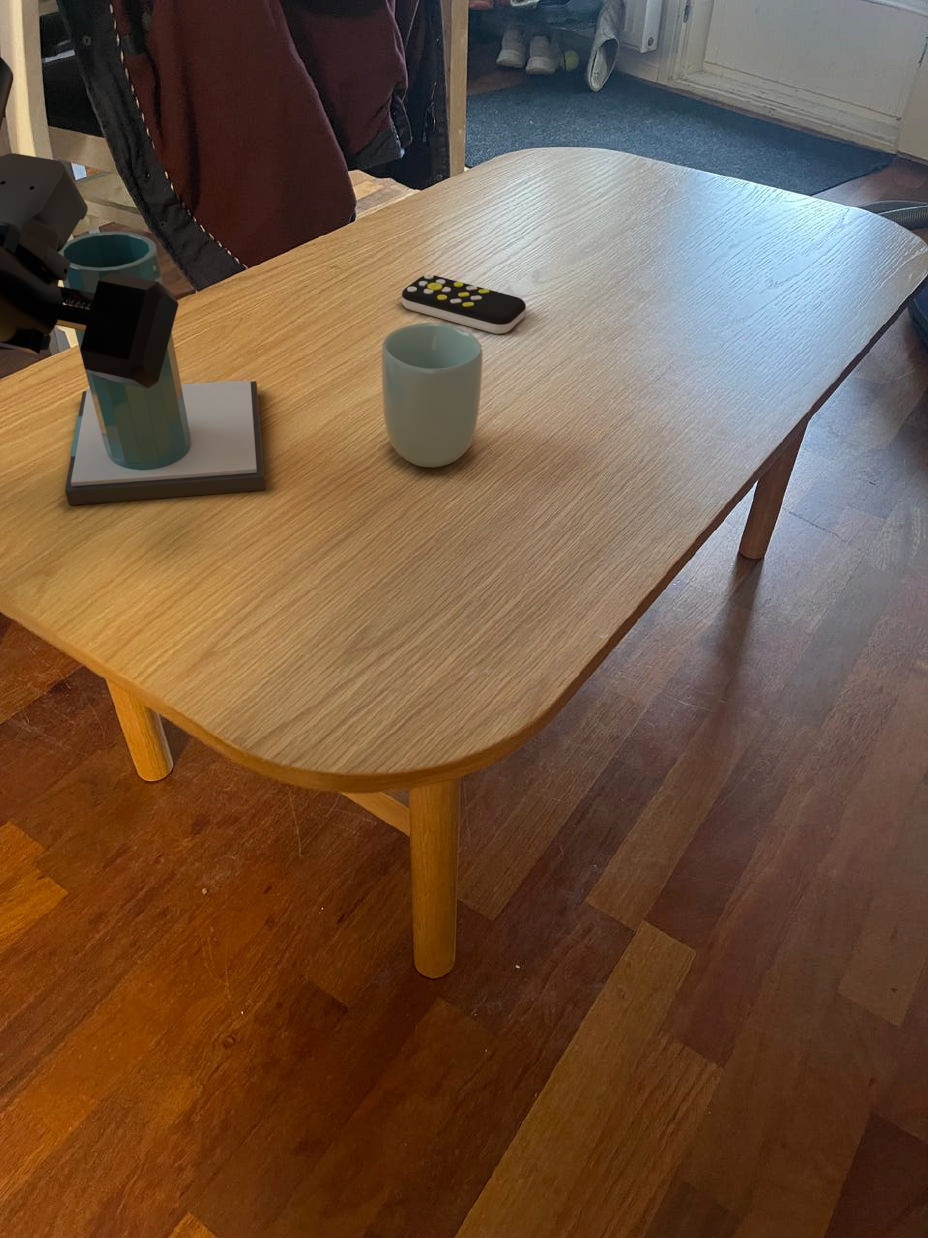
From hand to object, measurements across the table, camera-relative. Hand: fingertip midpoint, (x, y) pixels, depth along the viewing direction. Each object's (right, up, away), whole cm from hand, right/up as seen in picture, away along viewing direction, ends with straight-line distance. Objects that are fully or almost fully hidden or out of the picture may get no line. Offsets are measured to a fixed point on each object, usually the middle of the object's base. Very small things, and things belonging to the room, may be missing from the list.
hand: (103, 354), depth 68 cm
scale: (+1, -4, +12) cm, 13 cm away
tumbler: (+1, -5, +8) cm, 10 cm away
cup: (+23, -5, +13) cm, 27 cm away
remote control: (+26, +14, +33) cm, 44 cm away
